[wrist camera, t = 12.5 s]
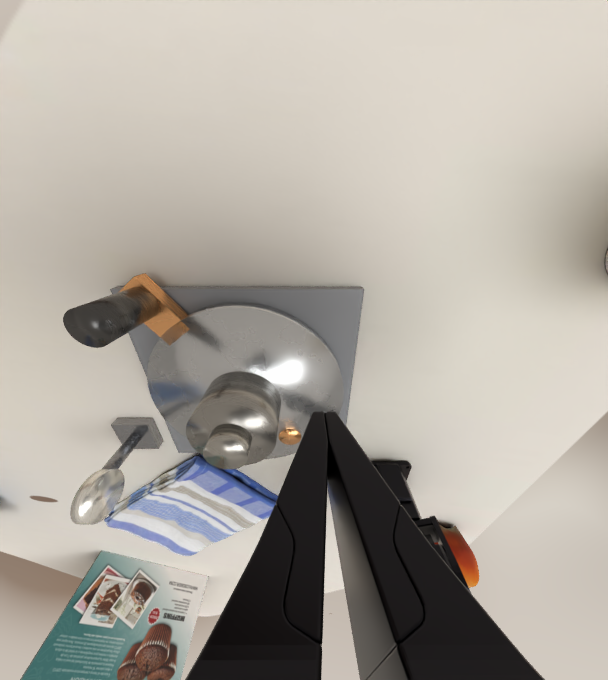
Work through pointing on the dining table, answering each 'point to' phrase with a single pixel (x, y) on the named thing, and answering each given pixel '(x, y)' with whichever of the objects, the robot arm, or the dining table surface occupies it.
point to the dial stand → (113, 471)
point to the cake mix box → (123, 624)
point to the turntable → (218, 353)
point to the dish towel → (193, 507)
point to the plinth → (301, 302)
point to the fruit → (462, 555)
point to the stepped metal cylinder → (235, 420)
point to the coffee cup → (607, 261)
